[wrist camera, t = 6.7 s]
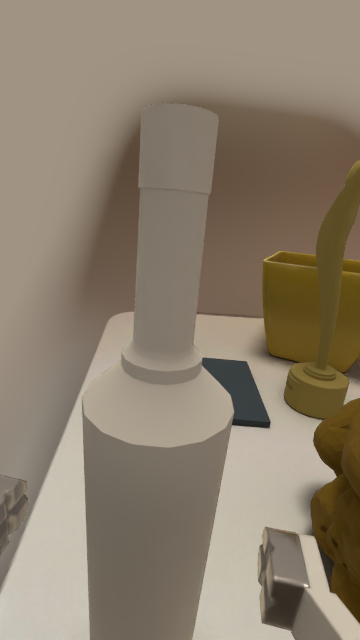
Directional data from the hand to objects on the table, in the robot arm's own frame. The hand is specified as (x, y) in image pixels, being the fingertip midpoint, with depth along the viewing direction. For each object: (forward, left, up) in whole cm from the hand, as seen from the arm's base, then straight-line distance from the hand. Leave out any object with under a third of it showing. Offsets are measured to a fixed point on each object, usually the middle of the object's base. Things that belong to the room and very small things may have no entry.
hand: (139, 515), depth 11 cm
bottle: (0, +2, -13) cm, 13 cm away
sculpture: (+19, +30, -13) cm, 38 cm away
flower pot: (+25, +48, -13) cm, 55 cm away
